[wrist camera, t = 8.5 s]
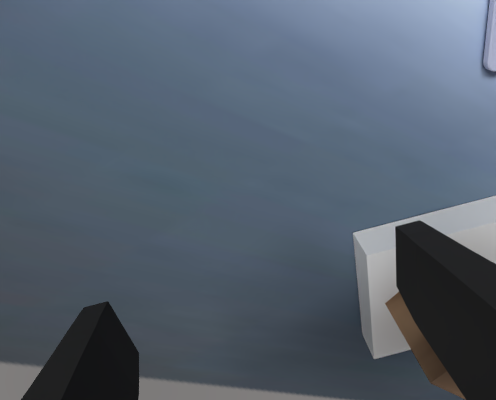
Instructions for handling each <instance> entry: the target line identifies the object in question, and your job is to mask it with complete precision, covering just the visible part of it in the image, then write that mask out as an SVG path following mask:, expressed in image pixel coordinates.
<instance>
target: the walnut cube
mask: <svg viewBox="0 0 496 400" xmlns="http://www.w3.org/2000/svg"><path fill="white" fill-rule="evenodd" d="M385 304H386V306H387V308H388V310H389V311H390V313H391V315H392V317H393V318H394V320H395V322H396V324H397V325H398V327H399V329H400V331H401V332H402V334H403V336H404V338H405V339H406V341H407V343H408V345H409V346H410V348H411V350H412V352H413V353H414V355H415V357H416V359H417V360H418V362H419V364H420V366H421V367H422V369H423V371H424V373H425V374H426V376H427V378H428V380H429V381H430V383H431V384H434V385H436V386H438V387H440V388H442V389H444V390H446V391H449V392H451V393H453V394H455V395H457V396H459V397H461V398H463V399H465V397H464V396H463V394H462V393H461V391H460V390H459V388H458V387H457V385H456V384H455V382H454V381H453V379H452V378H451V376H450V375H449V373H448V372H447V370H446V369H445V367H444V366H443V364H442V363H441V361H440V360H439V358H438V357H437V355H436V354H435V352H434V351H433V349H432V348H431V346H430V345H429V343H428V342H427V340H426V339H425V337H424V336H423V334H422V333H421V331H420V330H419V328H418V326H417V325H416V323H415V322H414V320H413V318H412V316H411V314H410V312H409V310H408V308H407V306H406V304H405V302H404V300H403V298H402V296H401V294H400V292H398V293H397V294H396V295H394V296H393V297H392V298H391V299H390V300H389V301H387V302H386V303H385Z"/></svg>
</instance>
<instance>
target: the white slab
mask: <svg viewBox="0 0 496 400" xmlns="http://www.w3.org/2000/svg"><path fill="white" fill-rule="evenodd" d="M418 220H420V221H422V222H424V223H426V224H427V225H429V226H431V227H433V228H434V229H436V230H438V231H439V232H441V233H443V234H444V235H446V236H448V237H450V238H451V239H453V240H455V241H456V242H458V243H460V244H462V245H463V246H465V247H467V248H468V249H470V250H472V251H474V252H475V253H477V254H479V255H481V256H482V257H484V258H486V259H488V260H490V261H491V262H493V263H495V264H496V196H492V197H488V198H484V199H481V200H477V201H473V202H469V203H465V204H461V205H458V206H454V207H450V208H446V209H442V210H438V211H434V212H431V213H427V214H423V215H419V216H415V217H411V218H408V219H404V220H400V221H396V222H392V223H388V224H385V225H381V226H377V227H373V228H369V229H365V230H361V231H358V232H354V233H353V239H354V250H355V261H356V272H357V283H358V294H359V304H360V315H361V326H362V335H363V337H364V339H365V341H366V343H367V345H368V348H369V350H370V352H371V354H372V356H373V358H374V359H377V358H381V357H385V356H389V355H392V354H396V353H400V352H404V351H408V350H411V348H410V346H409V345H408V343H407V341H406V339H405V338H404V336H403V334H402V332H401V331H400V329H399V327H398V325H397V324H396V322H395V320H394V318H393V317H392V315H391V313H390V311H389V310H388V308H387V306H386V304H385V303H386V302H387V301H389V300H390V299H391V298H392V297H393V296H394V295H396V294H397V293H398V292H399V290H398V288H397V286H396V237H395V226H399V225H403V224H407V223H411V222H415V221H418Z"/></svg>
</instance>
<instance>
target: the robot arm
mask: <svg viewBox="0 0 496 400" xmlns="http://www.w3.org/2000/svg"><path fill="white" fill-rule="evenodd" d="M483 64H484V67H485V68H486V69H488V70H490V71H493V72H495V71H496V0H490V3H489V12H488V22H487V31H486V41H485V50H484V59H483ZM395 237H396V286H397V288H398V290H399V292H400V294H401V296H402V298H403V300H404V302H405V304H406V306H407V308H408V310H409V312H410V314H411V316H412V318H413V320H414V322H415V323H416V325H417V326H418V328H419V330H420V331H421V333H422V334H423V336H424V337H425V339H426V340H427V342H428V343H429V345H430V346H431V348H432V349H433V351H434V352H435V354H436V355H437V357H438V358H439V360H440V361H441V363H442V364H443V366H444V367H445V369H446V370H447V372H448V373H449V375H450V376H451V378H452V379H453V381H454V382H455V384H456V385H457V387H458V388H459V390H460V391H461V393H462V394H463V396H464V397H465V399H466V400H496V264H495V263H493V262H491V261H490V260H488V259H486V258H484V257H482V256H481V255H479V254H477V253H475V252H474V251H472V250H470V249H468V248H467V247H465V246H463V245H462V244H460V243H458V242H456V241H455V240H453V239H451V238H450V237H448V236H446V235H444V234H443V233H441V232H439V231H438V230H436V229H434V228H433V227H431V226H429V225H427V224H426V223H424V222H422V221H420V220H418V221H415V222H411V223H407V224H403V225H399V226H395ZM138 396H139V352H138V351H137V349H136V347H135V346H134V344H133V342H132V341H131V339H130V337H129V336H128V334H127V332H126V331H125V329H124V327H123V326H122V324H121V322H120V321H119V319H118V317H117V316H116V314H115V312H114V310H113V309H112V307H111V305H110V304H109V302H108V301H107V302H103V303H100V304H96V305H92V306H88V307H84V308H83V310H82V311H81V312H80V314H79V315H78V317H77V318H76V320H75V321H74V322H73V324H72V325H71V327H70V328H69V330H68V331H67V333H66V334H65V336H64V337H63V339H62V340H61V342H60V343H59V345H58V347H57V348H56V350H55V351H54V353H53V354H52V356H51V357H50V358H49V360H48V361H47V363H46V364H45V366H44V367H43V369H42V370H41V372H40V373H39V375H38V376H37V377H36V379H35V380H34V382H33V384H32V385H31V386H30V388H29V389H28V391H27V392H26V393H25V395H24V396H23V398H22V399H21V400H138Z"/></svg>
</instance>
